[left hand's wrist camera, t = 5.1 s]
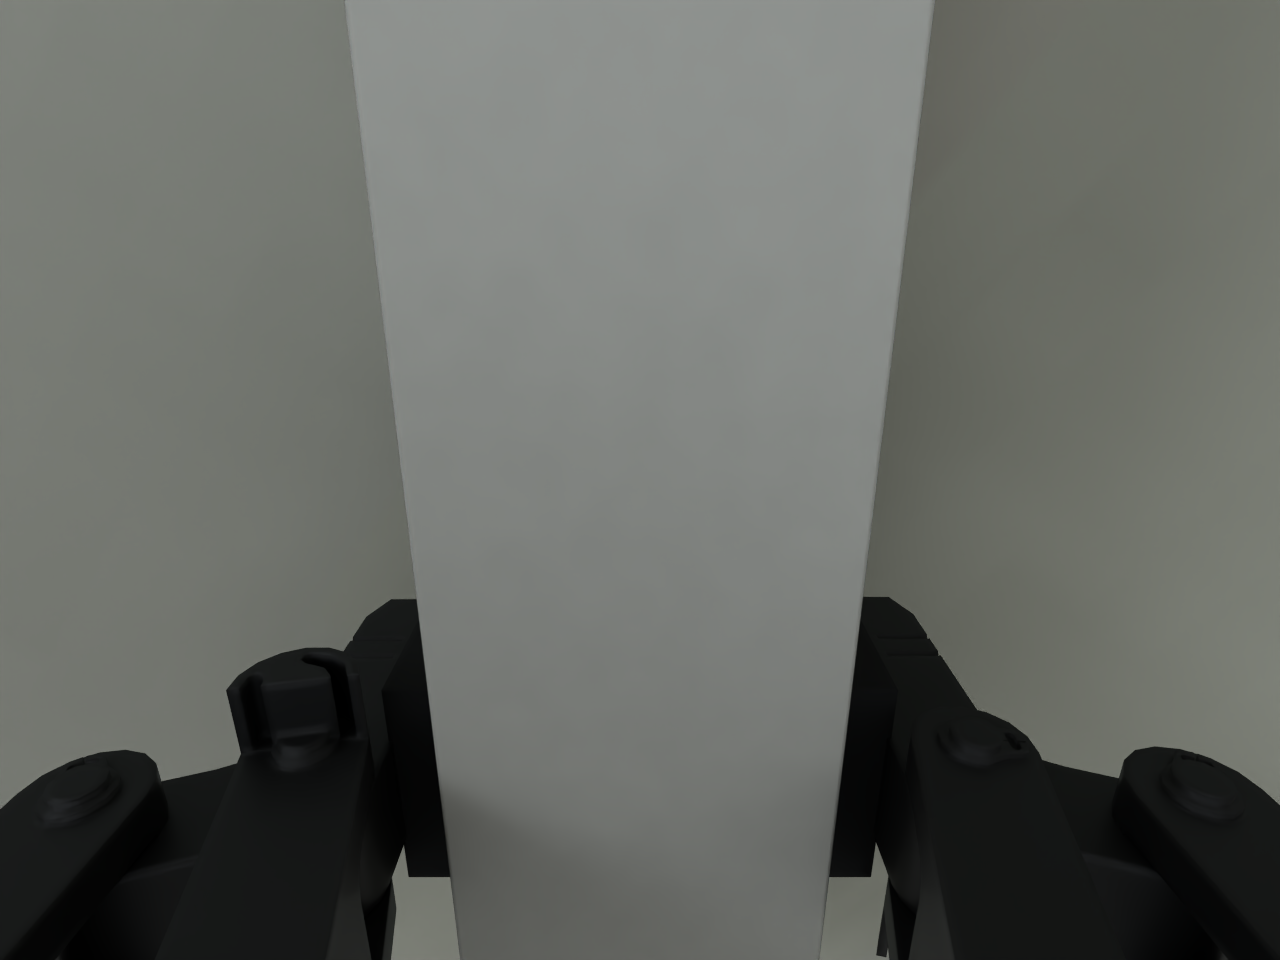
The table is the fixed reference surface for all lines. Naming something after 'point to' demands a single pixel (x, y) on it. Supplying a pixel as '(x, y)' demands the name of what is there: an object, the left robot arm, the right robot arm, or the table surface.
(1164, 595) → the table surface
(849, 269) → the bar
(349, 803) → the left robot arm
